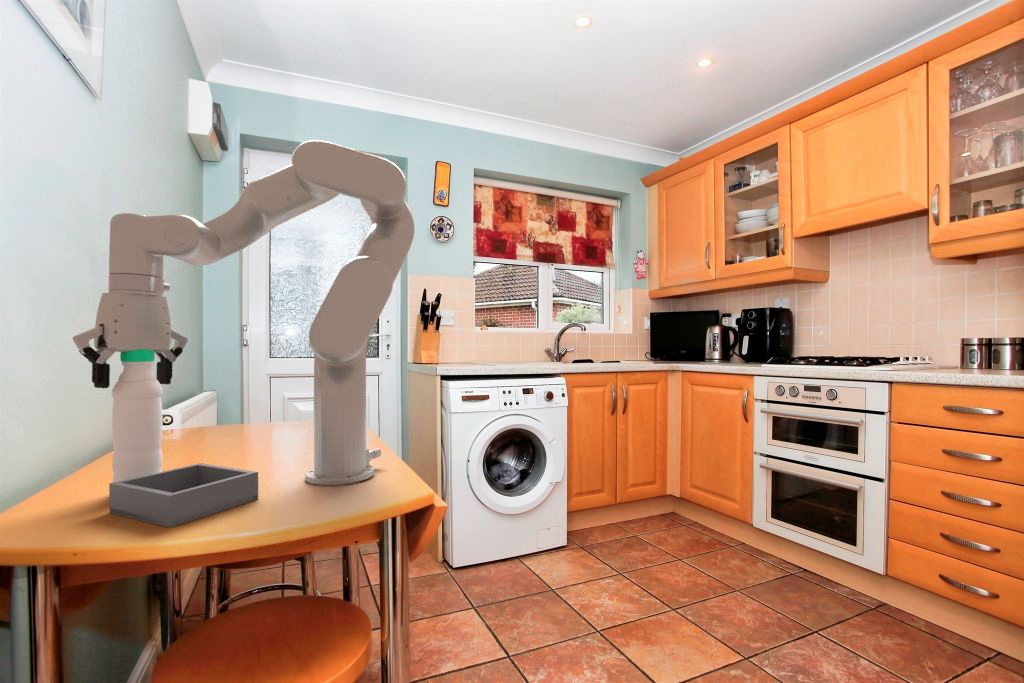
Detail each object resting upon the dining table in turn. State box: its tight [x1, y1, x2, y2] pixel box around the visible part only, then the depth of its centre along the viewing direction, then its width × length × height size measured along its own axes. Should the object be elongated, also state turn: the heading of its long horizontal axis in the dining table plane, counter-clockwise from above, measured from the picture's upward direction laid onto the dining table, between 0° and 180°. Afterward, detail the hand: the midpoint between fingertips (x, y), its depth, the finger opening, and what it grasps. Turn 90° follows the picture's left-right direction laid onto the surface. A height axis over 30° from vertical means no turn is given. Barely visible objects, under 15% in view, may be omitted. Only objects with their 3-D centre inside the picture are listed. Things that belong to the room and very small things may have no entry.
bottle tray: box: [108, 462, 259, 529], centre depth 79 cm, size 14×15×4 cm
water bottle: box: [111, 349, 164, 483], centre depth 87 cm, size 7×7×25 cm
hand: (134, 385), depth 87 cm, fingers open, 9 cm apart
